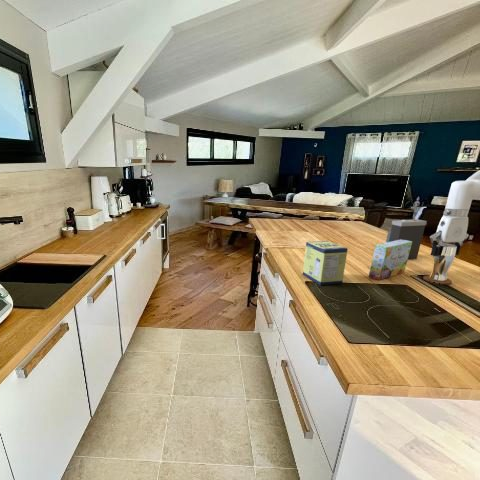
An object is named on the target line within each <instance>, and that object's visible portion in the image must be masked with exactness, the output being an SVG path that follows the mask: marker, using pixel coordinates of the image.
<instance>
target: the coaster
mask: <svg viewBox="0 0 480 480" xmlns="http://www.w3.org/2000/svg"><path fill="white" fill-rule="evenodd" d="M429 276H430V275H424V276H423V277H422V280H423V281H425V282H427V283H431V284H436V285H444V286H445V285H451V284H452V283H453V281H452V279H450V278H447V280H446V281H434V280H431V279H429ZM429 281H430V282H429ZM433 282H435V283H433ZM439 283H440V284H439Z"/></svg>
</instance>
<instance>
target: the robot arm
mask: <svg viewBox="0 0 480 480" xmlns="http://www.w3.org/2000/svg"><path fill="white" fill-rule="evenodd" d="M473 200H474V201H475V200H476V201H480V169H479V170H477V171H476V172H474V173H473V174H472V175H470V176H469V177H468V178H467V179H466V180H455V181H453V182H452V183H451V186H450V188H449V192H448V196H447V200H446V203H445V208H444V211H443V215H442V217H441V219H440V221H439V223H438V225H437V229H436V232H435V233H433V234H431V235H430V236H429V239H430V244H431V247H432V248H431V251H430V256H436V257H438V256H439V253H440V249H441V247H440V246H441V245H442V243H445V244H452V243H453V245H456V246H457V249H456V254H455V256H458V255H459V254H460V250H461V247H462V246H463V245H464V243H465V242H466V241H467V239H468V237H470V235H469V233H467V231H468V227H469V217H468V215H469V211H470V208H471V205H472V201H473Z"/></svg>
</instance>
